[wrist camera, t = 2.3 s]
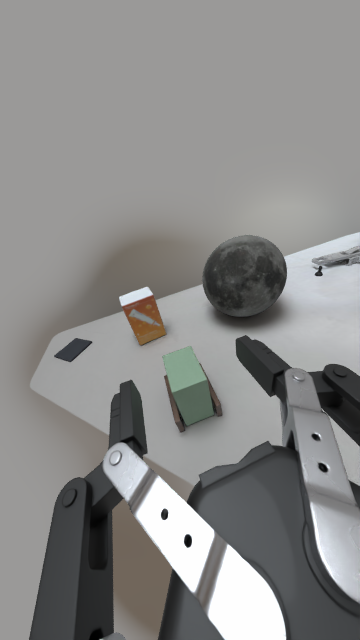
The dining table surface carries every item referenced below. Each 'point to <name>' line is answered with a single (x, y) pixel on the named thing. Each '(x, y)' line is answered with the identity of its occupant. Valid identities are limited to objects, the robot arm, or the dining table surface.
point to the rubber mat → (73, 349)
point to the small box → (143, 315)
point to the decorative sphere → (244, 276)
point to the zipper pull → (341, 257)
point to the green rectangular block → (188, 385)
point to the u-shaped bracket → (175, 408)
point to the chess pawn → (319, 272)
